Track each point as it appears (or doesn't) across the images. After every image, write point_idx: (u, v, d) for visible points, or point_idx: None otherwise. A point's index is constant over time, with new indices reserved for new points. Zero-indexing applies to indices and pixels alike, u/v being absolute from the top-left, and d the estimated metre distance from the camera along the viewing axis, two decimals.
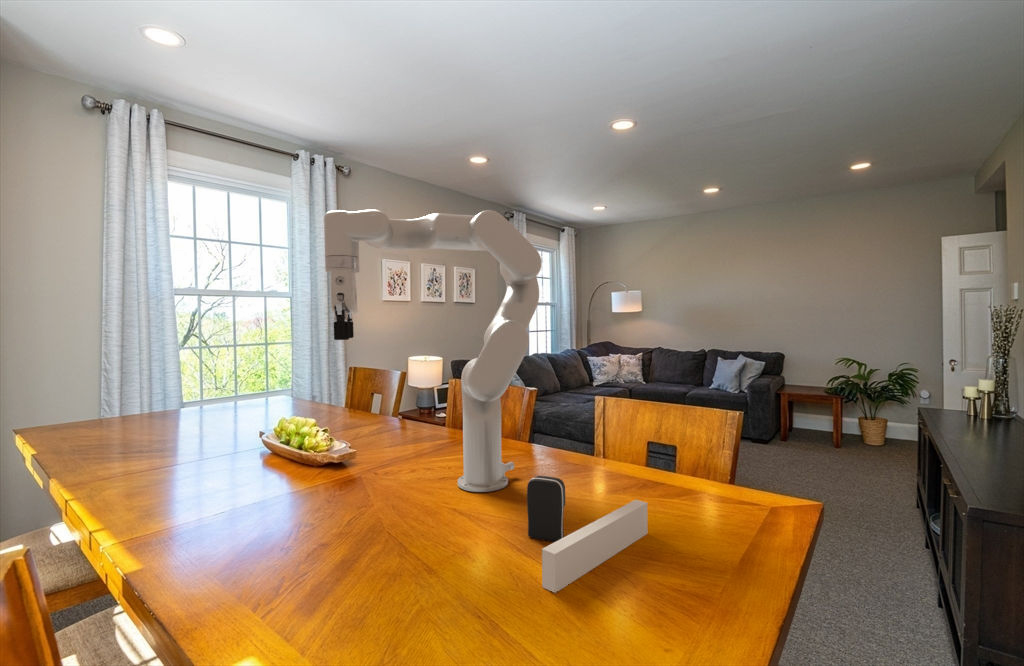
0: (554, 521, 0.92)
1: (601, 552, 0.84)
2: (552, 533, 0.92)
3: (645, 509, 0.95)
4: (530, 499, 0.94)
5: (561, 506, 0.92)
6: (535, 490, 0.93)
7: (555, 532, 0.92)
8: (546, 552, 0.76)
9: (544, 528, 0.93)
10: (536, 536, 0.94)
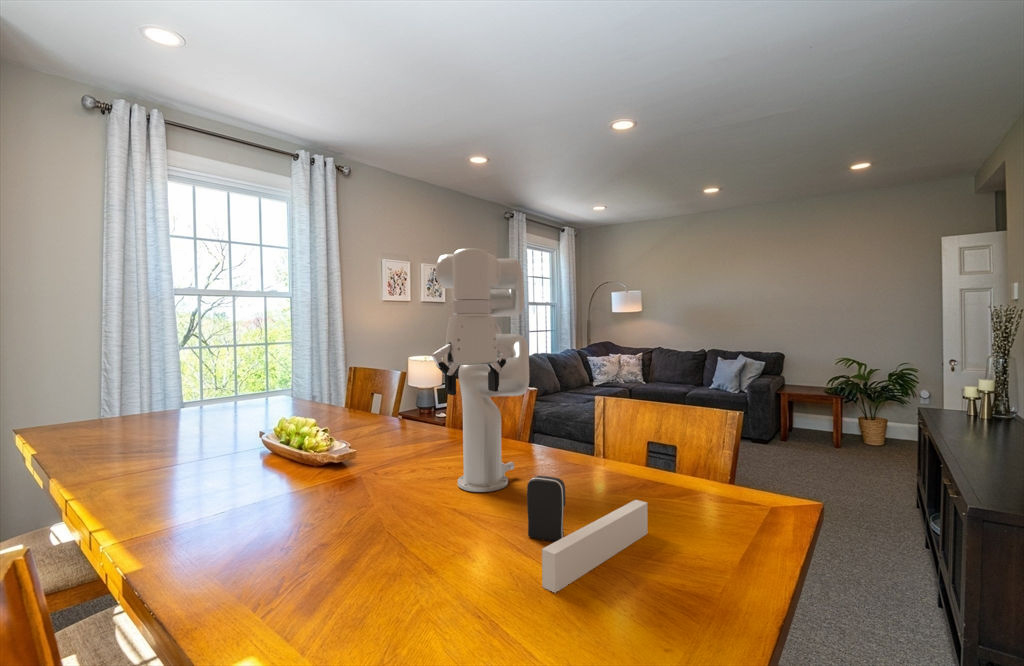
0: (554, 521, 0.92)
1: (601, 552, 0.84)
2: (552, 533, 0.92)
3: (645, 509, 0.95)
4: (530, 499, 0.94)
5: (561, 506, 0.92)
6: (535, 490, 0.93)
7: (555, 532, 0.92)
8: (546, 552, 0.76)
9: (544, 528, 0.93)
10: (536, 536, 0.94)
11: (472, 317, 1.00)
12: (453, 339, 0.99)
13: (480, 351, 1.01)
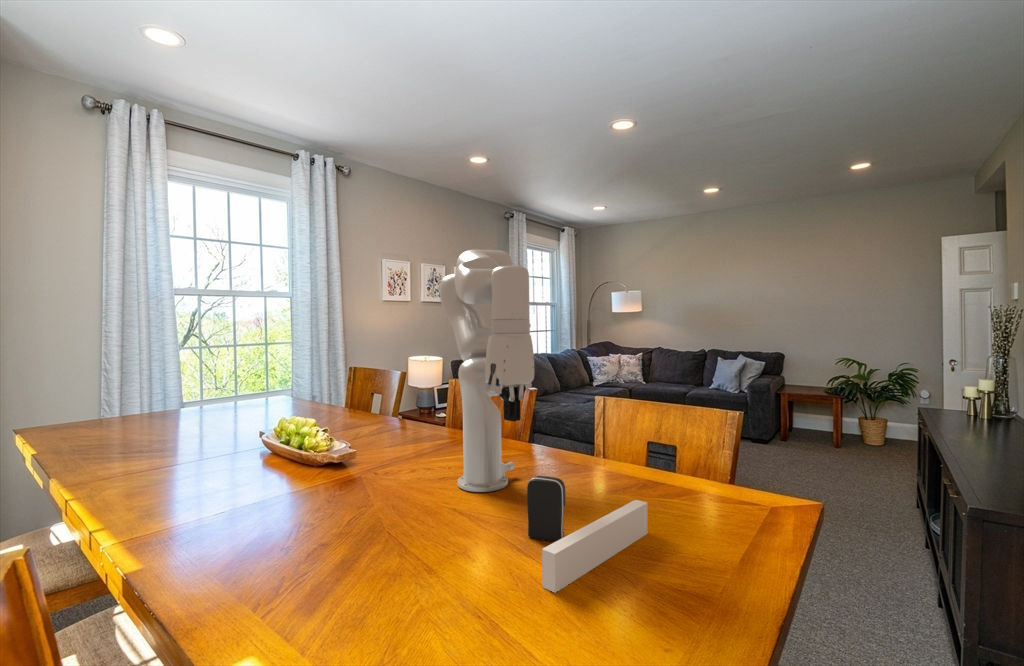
0: (554, 521, 0.92)
1: (601, 552, 0.84)
2: (552, 533, 0.92)
3: (645, 509, 0.95)
4: (530, 499, 0.94)
5: (561, 506, 0.92)
6: (535, 490, 0.93)
7: (555, 532, 0.92)
8: (546, 552, 0.76)
9: (544, 528, 0.93)
10: (536, 536, 0.94)
11: (516, 337, 0.97)
12: (499, 361, 0.95)
13: (522, 371, 0.99)
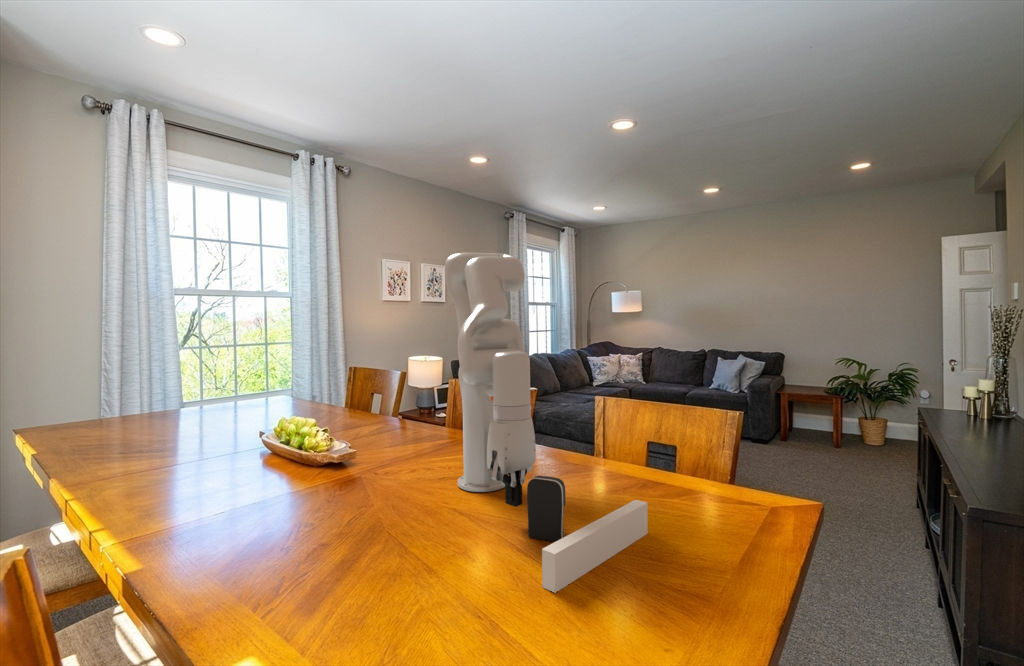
0: (554, 521, 0.92)
1: (601, 552, 0.84)
2: (552, 533, 0.92)
3: (645, 509, 0.95)
4: (530, 499, 0.94)
5: (561, 506, 0.92)
6: (535, 490, 0.93)
7: (555, 532, 0.92)
8: (546, 552, 0.76)
9: (544, 528, 0.93)
10: (536, 536, 0.94)
11: (517, 423, 0.97)
12: (500, 449, 0.96)
13: (523, 456, 0.99)
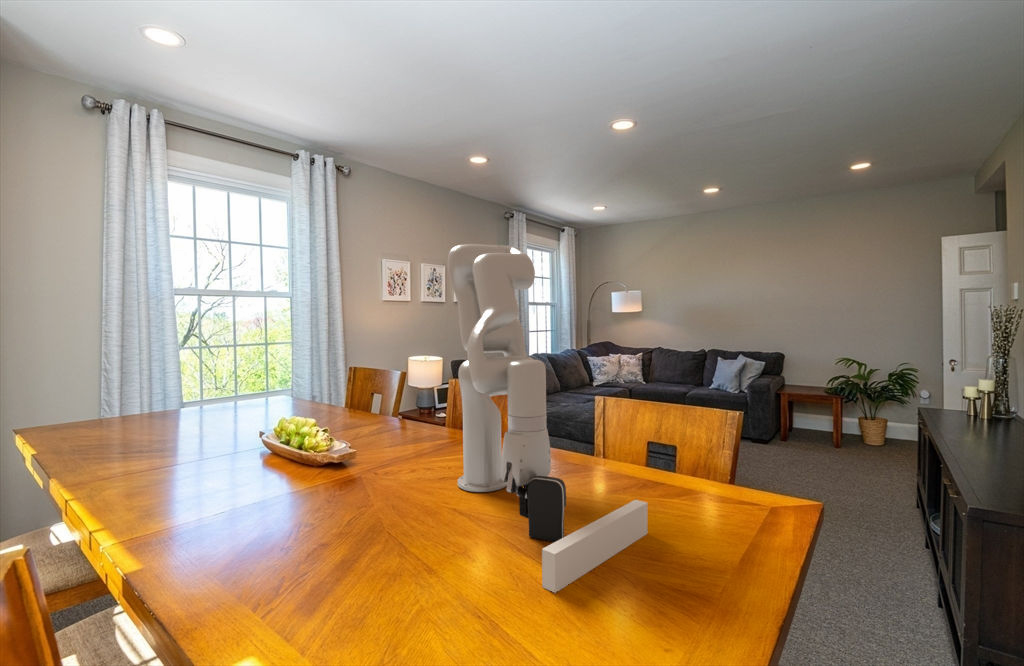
0: (555, 521, 0.92)
1: (601, 552, 0.84)
2: (553, 533, 0.92)
3: (645, 509, 0.95)
4: (531, 499, 0.94)
5: (562, 506, 0.92)
6: (536, 490, 0.93)
7: (556, 532, 0.92)
8: (546, 552, 0.76)
9: (545, 528, 0.93)
10: (537, 536, 0.93)
11: (532, 434, 0.95)
12: (515, 460, 0.93)
13: (538, 468, 0.96)
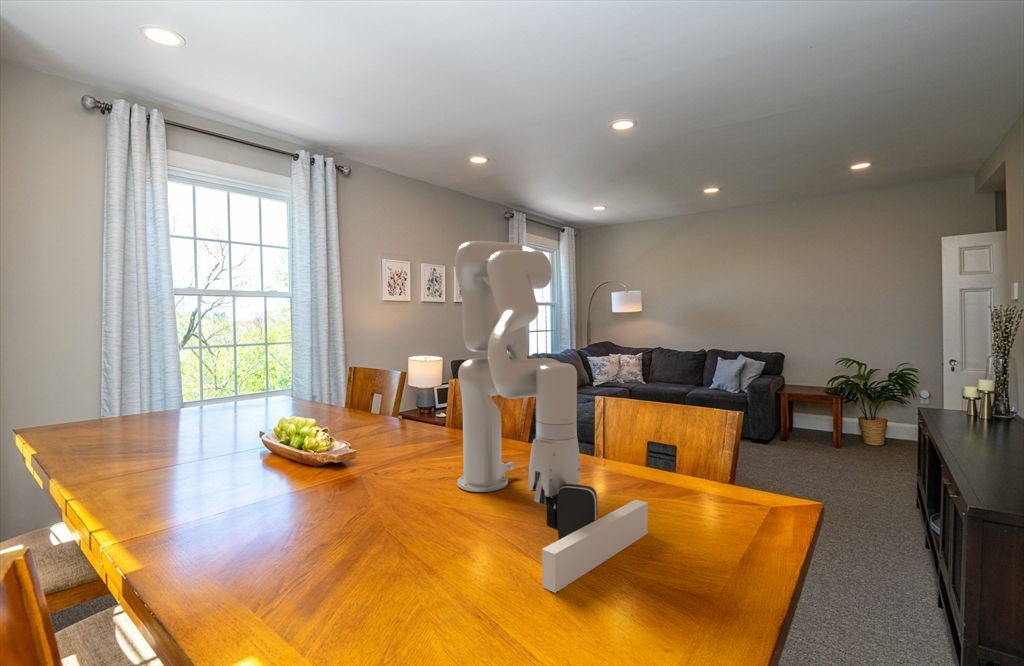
0: None
1: (601, 552, 0.84)
2: None
3: (645, 509, 0.95)
4: (560, 509, 0.89)
5: (594, 516, 0.87)
6: (566, 499, 0.88)
7: None
8: (546, 552, 0.76)
9: None
10: None
11: (563, 442, 0.90)
12: (545, 470, 0.88)
13: (568, 477, 0.92)
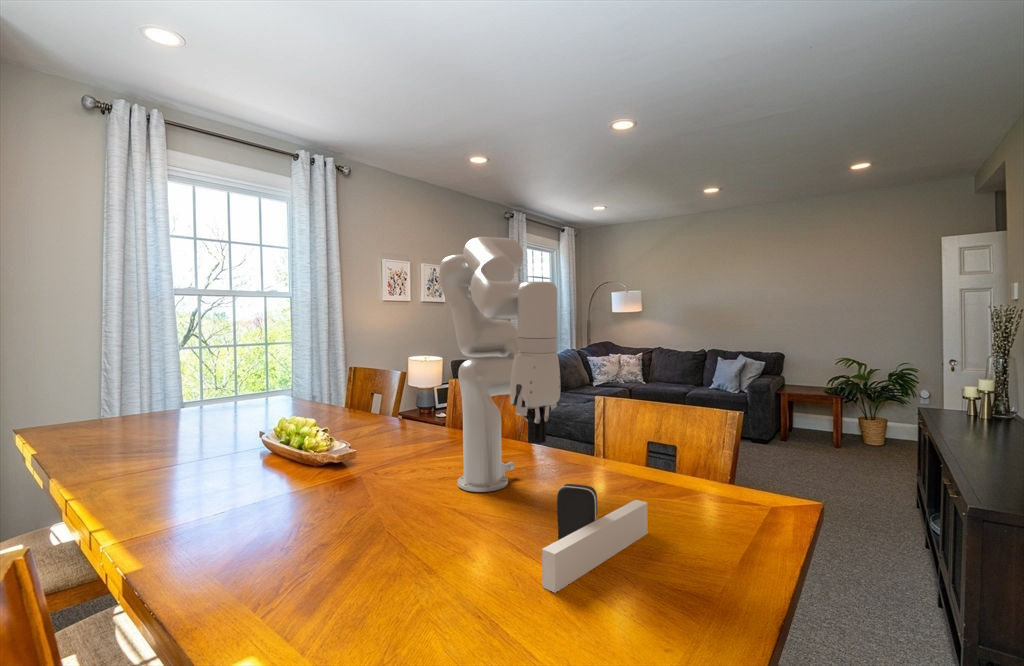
0: None
1: (601, 552, 0.84)
2: None
3: (645, 509, 0.95)
4: (560, 509, 0.89)
5: (594, 516, 0.87)
6: (566, 499, 0.88)
7: None
8: (546, 552, 0.76)
9: None
10: None
11: (543, 357, 0.93)
12: (525, 382, 0.91)
13: (548, 392, 0.94)
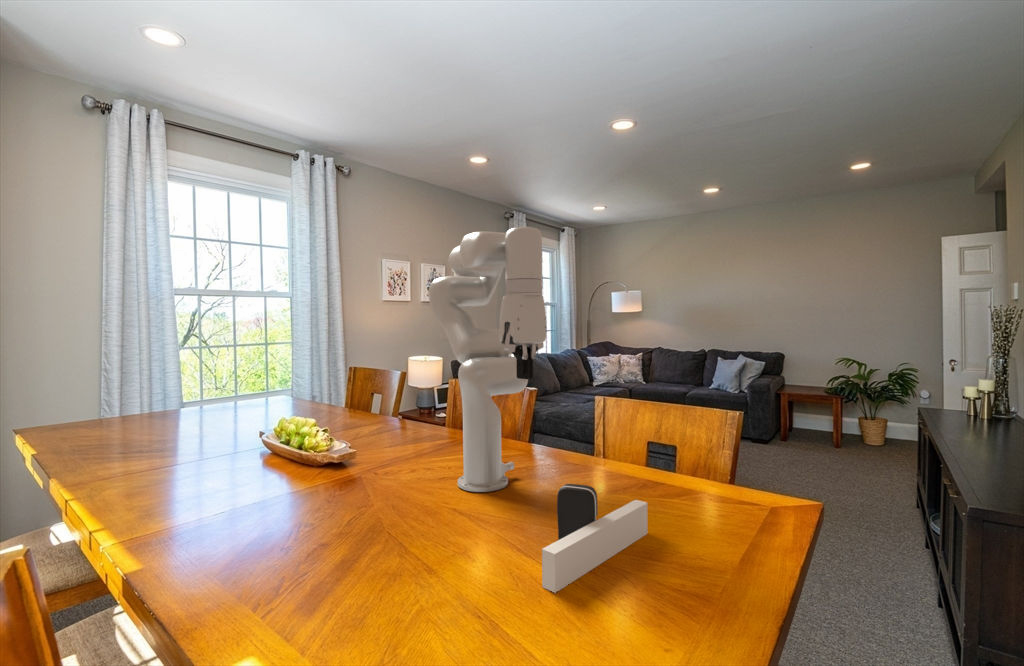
0: None
1: (601, 552, 0.84)
2: None
3: (645, 509, 0.95)
4: (561, 509, 0.89)
5: (594, 516, 0.87)
6: (566, 499, 0.89)
7: None
8: (546, 552, 0.76)
9: None
10: None
11: (529, 296, 1.00)
12: (513, 319, 0.98)
13: (535, 331, 1.01)
